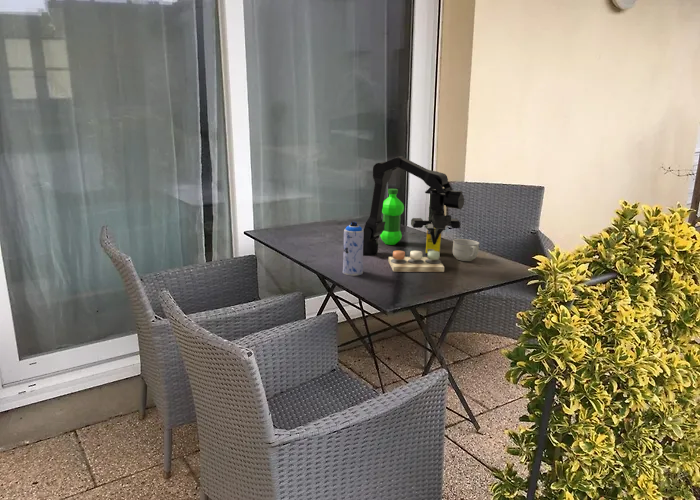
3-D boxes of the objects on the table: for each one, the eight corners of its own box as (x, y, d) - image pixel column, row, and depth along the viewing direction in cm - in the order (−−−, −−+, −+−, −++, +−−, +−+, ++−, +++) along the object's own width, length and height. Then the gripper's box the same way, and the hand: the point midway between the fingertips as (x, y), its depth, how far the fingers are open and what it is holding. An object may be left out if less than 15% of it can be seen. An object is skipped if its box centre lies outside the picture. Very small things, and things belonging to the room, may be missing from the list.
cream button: (411, 259, 238) (411, 253, 237) (409, 256, 242) (409, 250, 242) (423, 259, 238) (423, 253, 237) (420, 256, 243) (421, 250, 242)
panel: (393, 271, 234) (393, 266, 233) (388, 261, 247) (388, 256, 246) (444, 271, 235) (444, 266, 235) (436, 261, 249) (437, 256, 248)
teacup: (449, 255, 258) (450, 237, 256) (473, 255, 259) (475, 237, 257) (457, 265, 244) (458, 246, 242) (483, 265, 245) (485, 246, 243)
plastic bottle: (376, 244, 272) (378, 190, 266) (384, 239, 282) (386, 186, 275) (397, 247, 269) (400, 192, 262) (404, 242, 278) (407, 188, 272)
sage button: (428, 259, 238) (429, 253, 238) (426, 256, 243) (426, 250, 242) (440, 259, 239) (440, 253, 238) (437, 256, 243) (438, 250, 243)
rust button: (393, 259, 237) (393, 253, 236) (391, 256, 242) (392, 250, 241) (405, 259, 237) (406, 253, 237) (403, 256, 242) (404, 250, 241)
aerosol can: (339, 270, 233) (340, 220, 228) (358, 268, 236) (359, 219, 231) (346, 276, 226) (348, 224, 221) (365, 274, 229) (367, 223, 224)
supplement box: (439, 256, 257) (441, 231, 254) (425, 255, 258) (426, 230, 255) (440, 252, 262) (441, 228, 260) (426, 251, 264) (427, 227, 261)
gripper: (416, 209, 227) (414, 249, 231) (465, 210, 228) (462, 249, 232) (411, 203, 237) (409, 242, 241) (458, 204, 239) (455, 242, 243)
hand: (434, 244), depth 239 cm, fingers closed
